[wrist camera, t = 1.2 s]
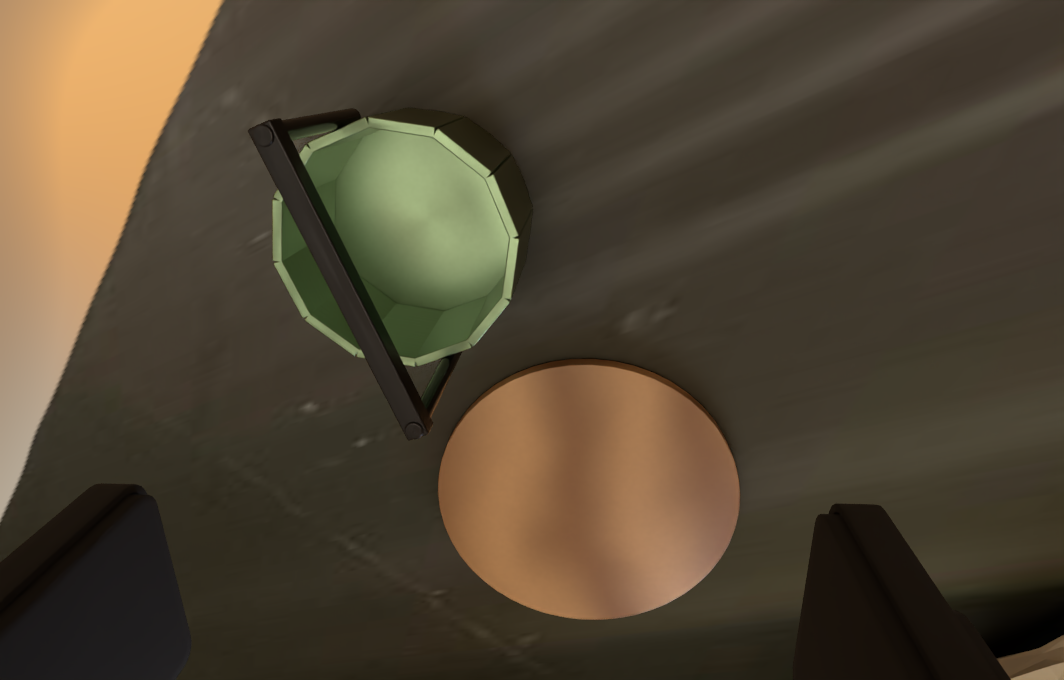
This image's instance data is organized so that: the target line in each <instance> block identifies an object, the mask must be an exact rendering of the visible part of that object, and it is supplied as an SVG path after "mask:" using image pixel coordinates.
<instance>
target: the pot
mask: <svg viewBox="0 0 1064 680" xmlns="http://www.w3.org/2000/svg"><path fill="white" fill-rule="evenodd" d="M333 130H334V131H333ZM329 131H332V132H330V133H328V134H325V135H323V136H321V137H319V138H316V139H314V140H312V141H310V142H308V144H306V145H305V146H304V147H303V149H302V150H301V152H300V154H299V153H298V151H297V149H296V147H295V145H294V143H293V141H292V140H296V139H300V138H305V137H309V136H313V135H317V134H321V133H325V132H329ZM248 132H249V134H250V136H251V138H252V140H253V142H254V144H255V146H256V148H257V150H258V152H259V154H260V156H261V158H262V159H263V161H264V163H265V165H266V167H267V169H268V171H269V173H270V175H271V177H272V179H273V181H274V183H275V185H276V187H277V188H278V189H277V191H276V192H275V194H274V196H273V197H274V199H273V200H272V254H273V261H276V262H274V266H275V268H276V270H277V271H278V273H279V275H280V277H281V279H282V281H283V283H284V284H285V286H286V288H287V290H288V292H289V294H290V296H291V297H292V299H293V301H294V303H295V305H296V307H297V309H298V310H299V312H300V314H301V316H302V318H305V317H306V319H305V321H306V322H308V323H309V324H310V325H312V326H313V327H315V328H316V329H317V330H319V331H320V332H321V333H323V334H324V335H326V336H327V337H328V338H330V339H331V340H333V341H334V342H335V343H337V344H338V345H340V346H341V347H342V348H344V349H345V350H347V351H348V352H349V353H351V354H352V355H353V356H355V355H356V354H357V357H359V358H365V359H366V360H367V362H368V364H369V366H370V368H371V370H372V372H373V374H374V376H375V378H376V380H377V382H378V383H379V385H380V387H381V389H382V391H383V393H384V395H385V397H386V399H387V401H388V403H389V405H390V407H391V409H392V411H393V412H394V414H395V416H396V418H397V420H398V422H399V424H400V426H401V428H402V430H403V432H404V434H405V436H406V438H407V439H408V440H412V439H418V438H420V437H421V436H425V435H428V434H429V432H430V429H431V427H432V425H433V422H432V420H431V416H432V414H433V412H434V410H435V408H436V406H437V404H438V402H439V400H440V397H441V395H442V393H443V391H444V389H445V387H446V385H447V383H448V381H449V378H450V376H451V374H452V372H453V370H454V368H455V366H456V364H457V362H458V360H459V357H460V355H461V353H462V351H464V350H467V349H470V348H471V347H472V346H475V344H476V343H477V342H478V341H479V339H480V338H481V337H482V336H483V335H484V333H485V332H486V331H487V330H488V329H489V327H490V326H491V325H492V324H493V322H494V321H495V320H496V319H497V318H498V316H499V315H500V314H501V313H502V312H503V310H504V309H505V308H506V307H507V305H508V304H509V303H510V301H511V299H512V296H513V293H514V291H515V288H516V285H517V283H518V280H519V277H520V275H521V272H522V269H523V267H524V264H525V261H526V256H527V249H528V242H529V237H530V232H531V221H532V214H533V209H532V207H533V206H532V203H531V201H530V198H529V195H528V191H527V188H526V185H525V182H524V179H523V177H522V175H521V172H520V170H519V168H518V166H517V165H516V163H515V160H514V158H513V156H512V155H510V152H509V151H508V150H507V149H505V148H504V147H503V146H502V144H501V143H500V142H498V141H497V140H496V139H495V138H494V137H493V136H492V135H491V134H490V133H488V132H487V131H485V130H484V129H483V128H481V127H480V126H478V125H476V124H475V123H473V122H472V121H471V120H470V119H469V118H467V117H466V118H464V116H462V115H456V114H450V113H446V112H442V111H434V110H423V109H417V108H404V109H399V110H395V111H390V112H385V113H381V114H376V115H372V116H367V117H364V118H361V116H360V113H359V112H358V111H357V110H356V109H353V108H350V109H345V110H339V111H333V112H327V113H321V114H316V115H310V116H304V117H298V118H292V119H286V120H281V119H280V118H278V119H272V120H268V121H265V122H263V123H261V124H258V125H256V126H255V127H252V128H250V129H249V130H248ZM441 358H442V359H441ZM438 359H441V361H440V363H439V365H438V367H437V368H436V370H435V372H434V374H433V376H432V378H431V380H430V381H429V383H428V385H427V387H426V389H425V391H424V393H423V395H422V396H421V398H420V396H419V394H418V392H417V390H416V388H415V386H414V384H413V382H412V380H411V378H410V376H409V374H408V372H407V370H406V368H405V366H404V365H407V366H413V367H415V366H416V364H417V366H421V365H424V364H427V363H429V362H432V361H435V360H438Z"/></svg>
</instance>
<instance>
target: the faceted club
mask: <svg viewBox="0 0 1064 680" xmlns="http://www.w3.org/2000/svg"><path fill="white" fill-rule="evenodd" d="M996 659H997V660H998V661H999V663H1000V664H1001V666H1002V667H1003V669H1004V670H1005V672H1006V673H1007V674H1008V676H1009V677H1010V679H1011V680H1064V635H1063V636H1061V637H1059V638H1057V639H1055V640H1053V641H1052V642H1050V643H1048V644H1046V645H1044V646H1042V647H1041V648H1038V649H1034V650H1031V651H1027V652H1022V653H1018V654H1013V655H1009V656H1004V657H1000V658H996Z"/></svg>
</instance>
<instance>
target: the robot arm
mask: <svg viewBox="0 0 1064 680" xmlns="http://www.w3.org/2000/svg"><path fill="white" fill-rule="evenodd" d="M190 650H191V635H190V631H189V627H188V623H187V619H186V615H185V611H184V607H183V604H182V600H181V596H180V592H179V588H178V584H177V580H176V576H175V572H174V568H173V564H172V560H171V557H170V553H169V549H168V545H167V541H166V537H165V533H164V529H163V525H162V521H161V517H160V514H159V510H158V506H157V503H156V500H155V499H154V498H153V497H152V496H150V495H147V493H146V491H145V490H144V489H143V488H142V486H139V485H135V484H96V485H94V486H92V487H90V488H89V489H87V490H86V491H85V492H84V493H83V494H81V495H80V496H79V497H78V498H77V499H75V500H74V501H73V502H72V503H71V504H69V505H68V506H67V507H66V508H65V509H64V510H62V511H61V512H60V513H59V514H58V515H56V516H55V517H54V518H53V519H52V520H50V521H49V522H48V523H47V524H46V525H44V526H43V527H42V528H41V529H40V530H38V531H37V532H36V533H35V534H34V535H33V536H31V537H30V538H29V539H28V540H27V541H25V542H24V543H23V544H22V545H21V546H19V547H18V548H17V549H16V550H15V551H13V552H12V553H11V554H10V555H9V556H8V557H6V558H5V559H4V560H3V561H2V562H0V680H175V679H176V678H177V676H178V675H179V673H180V672H181V671H182V669H183V668H184V666H185V664H186V662H187V660H188V657H189V655H190ZM793 680H1011V679H1010V677H1009V676H1008V674H1007V673H1006V672H1005V670H1004V669H1003V667H1002V666H1001V664H1000V663H999V661H998V660H997V659H996V657H995V656H994V654H993V653H992V651H991V650H990V649H989V647H988V646H987V644H986V643H985V641H984V640H983V638H982V637H981V636H980V634H979V633H978V631H977V630H976V628H975V627H974V625H973V624H972V623H971V622H970V621H969V620H968V619H967V618H966V616H965V615H963V614H961V613H960V612H958V611H956V610H952V609H951V608H950V606H949V605H948V603H947V602H946V600H945V599H944V597H943V596H942V594H941V593H940V591H939V590H938V588H937V587H936V585H935V584H934V582H933V581H932V580H931V578H930V577H929V575H928V574H927V572H926V571H925V569H924V568H923V566H922V565H921V563H920V562H919V560H918V559H917V557H916V556H915V554H914V553H913V551H912V550H911V548H910V547H909V545H908V544H907V542H906V541H905V539H904V538H903V537H902V535H901V534H900V532H899V531H898V529H897V528H896V526H895V525H894V523H893V522H892V520H891V519H890V517H889V516H888V514H887V513H886V511H885V510H884V509H883V508H882V507H881V506H879V505H868V504H834V505H832V507H831V509H830V511H829V514H820V515H818V517H817V518H816V522H815V527H814V533H813V540H812V546H811V553H810V559H809V565H808V572H807V578H806V585H805V591H804V597H803V604H802V610H801V617H800V623H799V629H798V636H797V642H796V649H795V655H794V661H793Z"/></svg>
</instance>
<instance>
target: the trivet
mask: <svg viewBox="0 0 1064 680" xmlns="http://www.w3.org/2000/svg"><path fill="white" fill-rule="evenodd" d="M438 496H439V504H440V511H441V514H442V518H443V522H444V525H445V527H446V530H447V532H448V534H449V537H450V539H451V541H452V543H453V544H454V546H455V548H456V549H457V551H458V552H459V554H460V556H461V557H462V558H463V559H464V560H465V562H466V563H467V564H468V565H469V567H470V568H471V569H472V570H473V571H474V572H475V573H476V574H477V575H478V576H479V577H480V578H481V579H482V580H484V581H485V582H486V583H487V584H489V585H490V586H491V587H493V588H494V589H495V590H497V591H498V592H500V593H502V594H503V595H505V596H507V597H508V598H510V599H512V600H514V601H516V602H518V603H520V604H522V605H525V606H527V607H529V608H532V609H535V610H538V611H541V612H544V613H548V614H552V615H556V616H561V617H567V618H575V619H595V620H600V619H612V618H620V617H626V616H631V615H636V614H639V613H643V612H646V611H649V610H652V609H655V608H657V607H659V606H662V605H664V604H666V603H669V602H670V601H672V600H674V599H676V598H677V597H679V596H681V595H683V594H684V593H686V592H687V591H688V590H690V589H691V588H692V587H694V586H695V585H696V584H698V583H699V582H700V581H701V580H702V579H703V578H704V577H705V576H706V575H707V574H708V573H709V572H710V571H711V570H712V568H713V567H714V566H715V565H716V563H717V562H718V561H719V560H720V558H721V557H722V555H723V553H724V551H725V550H726V548H727V546H728V544H729V542H730V540H731V537H732V535H733V532H734V530H735V527H736V523H737V518H738V514H739V504H740V487H739V477H738V473H737V469H736V465H735V461H734V458H733V455H732V452H731V450H730V448H729V445H728V443H727V441H726V439H725V436H724V435H723V433H722V431H721V430H720V428H719V427H718V425H717V423H716V422H715V420H714V419H713V418H712V417H711V416H710V414H709V413H708V412H707V411H706V410H705V408H704V407H703V406H702V405H701V404H700V403H699V402H697V401H696V400H695V399H694V398H693V397H692V396H691V395H690V394H688V393H687V392H686V391H684V390H683V389H681V388H680V387H678V386H677V385H675V384H674V383H672V382H671V381H669V380H667V379H665V378H663V377H661V376H659V375H657V374H655V373H653V372H650V371H648V370H645V369H642V368H639V367H636V366H634V365H629V364H625V363H620V362H616V361H610V360H600V359H568V360H561V361H554V362H549V363H545V364H541V365H537V366H534V367H530V368H528V369H525V370H523V371H520V372H518V373H516V374H513V375H511V376H509V377H508V378H506V379H504V380H502V381H501V382H499V383H497V384H495V385H494V386H493V387H492V388H490V389H489V390H488V391H486V392H485V393H484V394H482V395H481V396H480V397H479V398H478V399H477V400H476V401H475V402H474V403H473V404H472V405H471V406H470V407H469V408H468V409H467V411H466V412H465V413H464V415H463V416H462V418H461V419H460V420H459V422H458V423H457V425H456V427H455V429H454V431H453V433H452V434H451V436H450V438H449V441H448V443H447V446H446V449H445V452H444V455H443V458H442V460H441V466H440V471H439V478H438Z"/></svg>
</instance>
